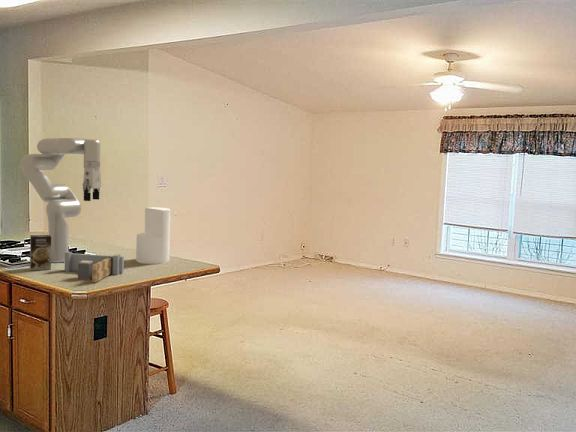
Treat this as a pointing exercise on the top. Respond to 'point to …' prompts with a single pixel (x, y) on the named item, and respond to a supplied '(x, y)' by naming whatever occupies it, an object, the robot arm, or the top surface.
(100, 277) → the door
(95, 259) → the wall
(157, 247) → the stepped white column
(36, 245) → the coffee box
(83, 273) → the grey rectangular block
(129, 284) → the top surface
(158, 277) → the top surface
